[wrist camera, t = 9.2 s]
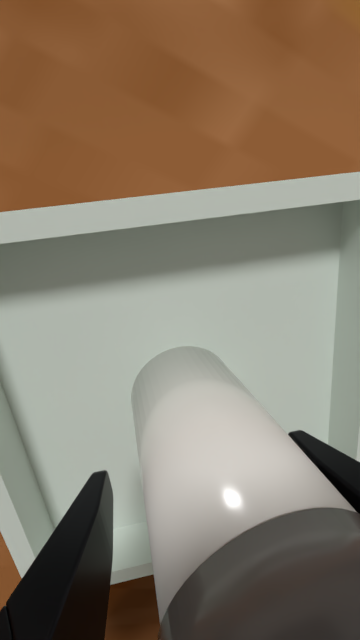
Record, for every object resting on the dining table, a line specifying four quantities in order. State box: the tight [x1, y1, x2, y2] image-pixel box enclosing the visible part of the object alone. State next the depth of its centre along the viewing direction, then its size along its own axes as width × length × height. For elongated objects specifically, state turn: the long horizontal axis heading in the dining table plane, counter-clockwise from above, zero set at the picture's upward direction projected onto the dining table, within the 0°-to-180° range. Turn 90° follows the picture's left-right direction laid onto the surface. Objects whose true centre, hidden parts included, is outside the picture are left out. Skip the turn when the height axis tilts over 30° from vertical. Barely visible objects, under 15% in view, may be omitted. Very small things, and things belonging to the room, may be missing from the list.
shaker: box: [131, 346, 360, 640], centre depth 8 cm, size 5×5×9 cm
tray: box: [0, 172, 360, 585], centre depth 12 cm, size 16×16×2 cm
